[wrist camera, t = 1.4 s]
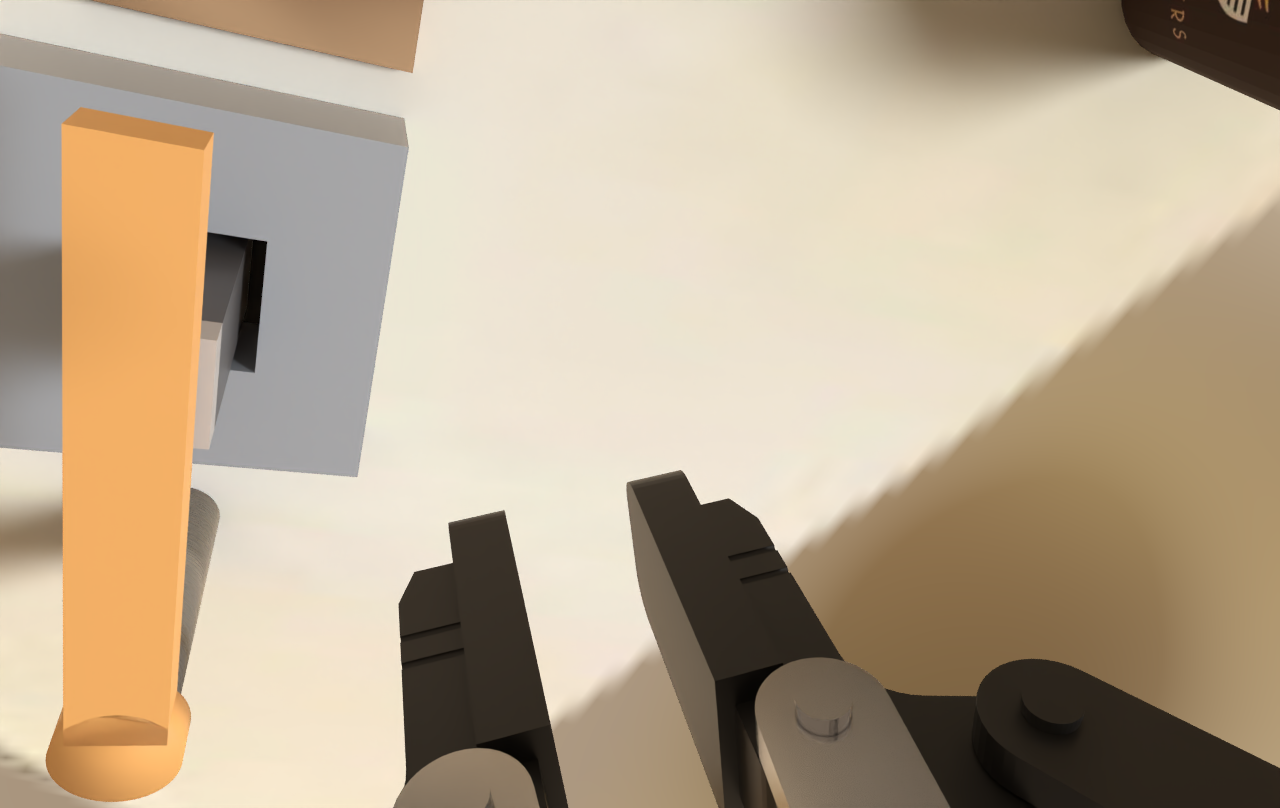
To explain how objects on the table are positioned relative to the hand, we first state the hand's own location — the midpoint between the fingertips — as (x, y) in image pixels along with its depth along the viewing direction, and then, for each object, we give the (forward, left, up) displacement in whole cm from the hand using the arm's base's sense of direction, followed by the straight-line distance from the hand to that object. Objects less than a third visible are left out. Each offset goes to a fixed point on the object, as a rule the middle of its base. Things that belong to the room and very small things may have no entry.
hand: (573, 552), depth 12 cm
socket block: (+5, -7, -21) cm, 23 cm away
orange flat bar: (+8, -7, -11) cm, 15 cm away
